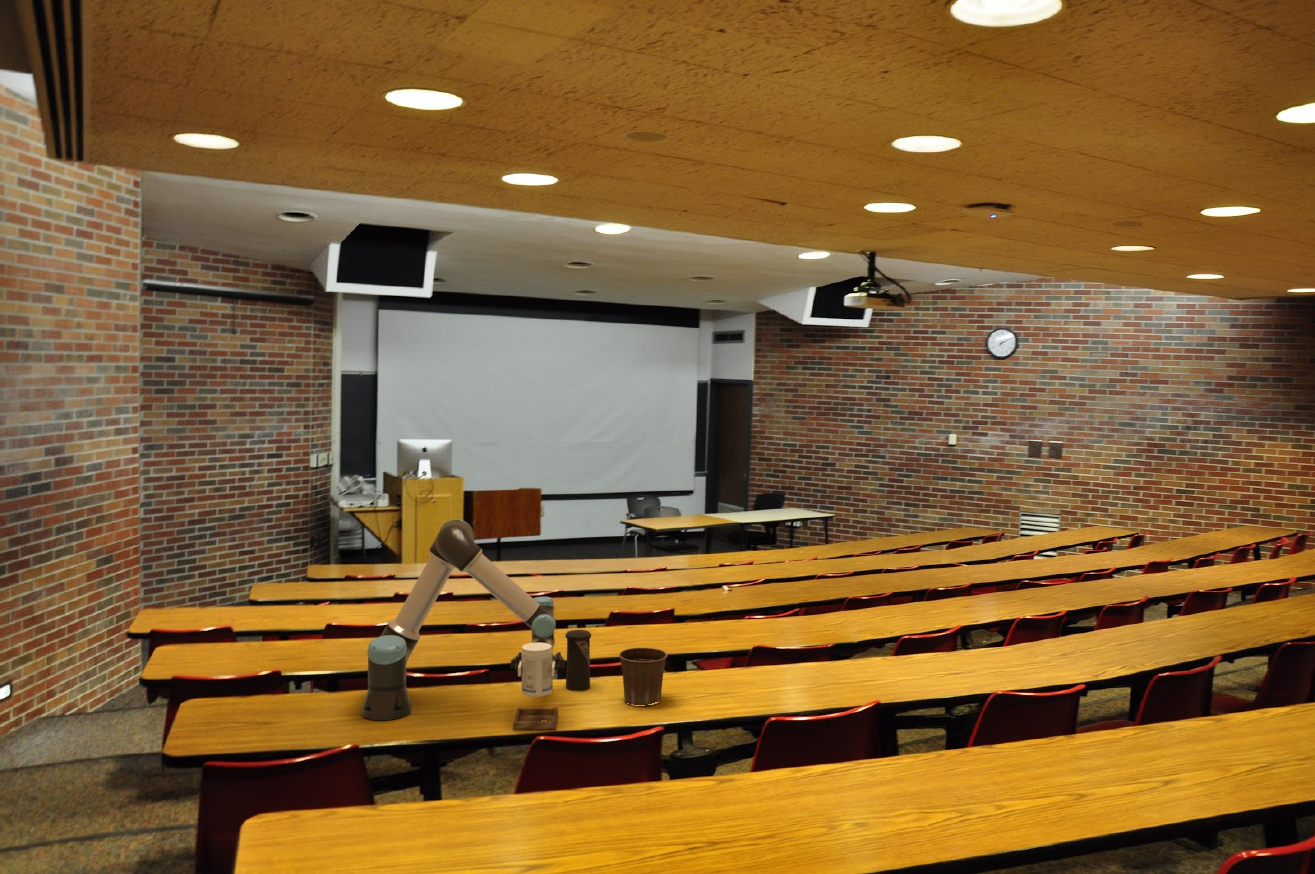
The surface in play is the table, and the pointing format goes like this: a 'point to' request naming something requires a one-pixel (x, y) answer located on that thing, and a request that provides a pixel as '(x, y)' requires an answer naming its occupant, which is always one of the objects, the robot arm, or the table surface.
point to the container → (578, 660)
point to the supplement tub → (537, 669)
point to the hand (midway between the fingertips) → (536, 671)
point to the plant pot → (642, 674)
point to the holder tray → (535, 719)
